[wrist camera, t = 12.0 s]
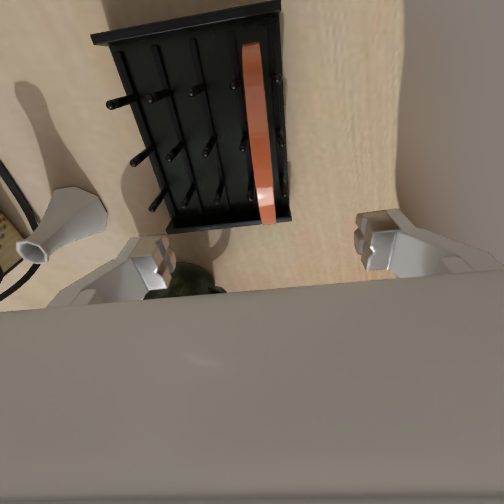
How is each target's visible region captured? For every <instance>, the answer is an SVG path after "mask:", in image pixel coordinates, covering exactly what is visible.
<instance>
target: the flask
mask: <svg viewBox="0 0 504 504" xmlns="http://www.w3.org/2000/svg"><path fill="white" fill-rule="evenodd" d="M107 217H108V214H107V212H106V211H105V209H104V207H103V205H102V203H101V202H100V200H99V198H98V196H96V195H94V194H91V193H89V192H87V191H84V190H82V189H79V188H77V187H75V186H74V187H68V188H62V189H56V190H54V192H53V195H52V197H51V200H50V202H49V205H48V208H47V210H46V212H45V214H44V216H43V219H42V221H41V223H40V224H39V226H38V227H37V228H36V230H35V231H34V232H33V233H32V234H31V235H30V236H29V237H28V238H26V239H24V240H19V241H17V242H16V251H17V252H18V253H19V255H20V256H21V257H22V258H23V259H24V260H26V261H29V262H32V263H35V264H41V263H47V262H48V261H49V256H50V255H51V254H52V253H53V252H55V251H56V250H57V249H59V248H61V247H62V246H64V245H66V244H68V243H70V242H73V241H76V240H78V239H81V238H84V237H87V236H90V235H93V234H96V233H99V232H102V231H105V227H106V222H107Z"/></svg>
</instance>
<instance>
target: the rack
mask: <svg viewBox="0 0 504 504" xmlns="http://www.w3.org/2000/svg"><path fill="white" fill-rule="evenodd" d="M280 12H281V0H272V1H266V2H261V3H256V4H250V5H245V6H240V7H234V8H229V9H224V10H218V11H213V12H208V13H202V14H197V15H192V16H186V17H181V18H176V19H171V20H165V21H160V22H155V23H149V24H144V25H139V26H133V27H128V28H123V29H117V30H112V31H107V32H101V33H96V34H91V35H90V36H91V39H92V41H93V44H94V45H100V46H109V48H110V51H111V53H112V56H113V59H114V62H115V64H116V67H117V70H118V73H119V75H120V78H121V81H122V84H123V87H124V89H125V92H126V95H127V96H124V97H120V98H116V99H113V100H109V101H107V102H106V107H107V108H108V109H110V110H113V109H116V108H119V107H122V106H125V105H128V104H130V106H131V109H132V111H133V114H134V117H135V120H136V122H137V125H138V128H139V131H140V133H141V136H142V139H143V142H144V145H145V147H146V149H144V150H143V151H142V152H141V153H139V154H138V155H137V156H136V157H134V158H133V159H132V160H131V161H130V165H131V166H132V167H136V166H137V165H138V164H140V163H141V162H142V161H143V160H144V159H145V158H146V157H148V156H149V158H150V161H151V164H152V167H153V169H154V172H155V175H156V178H157V180H158V183H159V186H160V189H161V192H160V193H159V195H158V196H157V197H156V199H155V200H154V201H153V203H152V204H151V205H150V207H149V211H150V212H155V210H156V209H157V207H158V206H159V204H160V203H161V201H162V200H163V199H164V200H165V203H166V205H167V208H168V211H169V214H170V216H171V221H170V223H169V225H168V227H167V228H166V232H167V234H175V233H185V232H194V231H204V230H213V229H222V228H232V227H241V226H251V225H260V224H262V221H261V217H260V212H259V206H258V200H257V193H256V186H255V179H254V172H253V164H252V156H251V148H250V139H249V130H248V121H247V111H246V101H245V91H244V79H243V65H242V45H243V44H245V43H251V42H257V41H259V44H260V52H261V62H262V72H263V82H264V90H265V100H266V110H267V120H268V131H269V142H270V153H271V164H272V176H273V188H274V202H275V214H276V223H279V222H288V221H292V217H291V212H290V207H289V191H288V172H287V154H286V135H285V117H284V98H283V80H282V61H281V42H280V24H279V14H280Z"/></svg>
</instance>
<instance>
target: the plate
mask: <svg viewBox="0 0 504 504" xmlns="http://www.w3.org/2000/svg"><path fill="white" fill-rule="evenodd" d="M242 65H243V79H244V91H245V101H246V111H247V121H248V130H249V139H250V148H251V156H252V164H253V172H254V179H255V186H256V193H257V200H258V206H259V212H260V217H261V221H262V224H263V225H270V224H276V214H275V202H274V188H273V176H272V164H271V153H270V142H269V131H268V120H267V110H266V100H265V90H264V82H263V72H262V62H261V52H260V44H259V41H257V42H251V43H245V44H243V45H242Z"/></svg>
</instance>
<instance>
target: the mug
mask: <svg viewBox="0 0 504 504" xmlns="http://www.w3.org/2000/svg"><path fill="white" fill-rule="evenodd" d="M170 275H171V277H172V278H171V280H170V283H169V286H168V288H166V289H157V290H149V292H148V293H147V294H146V295H145V297H144V299H143V300H148V299H160V298H172V297H184V296H195V295H207V294H219V293H227V292H226V291H225V290H224V289H223V288H221V287H217V286H215V284H214V282H213V280H212V278H211V277H210V275H209V274H208V273H207V272H206V271H204V270H203V269H201V268H200V267H198V266H195V265H192V264H188V263H176V267H175V270H174V271H173V272H172V273H171V274H170Z"/></svg>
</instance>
